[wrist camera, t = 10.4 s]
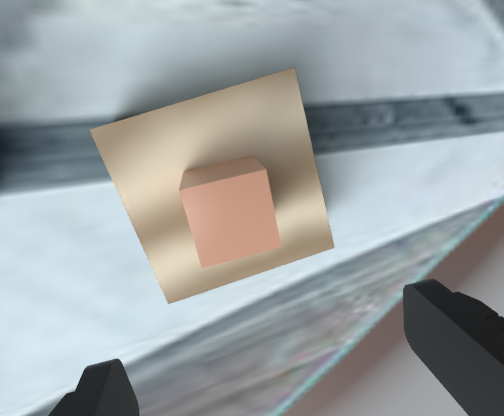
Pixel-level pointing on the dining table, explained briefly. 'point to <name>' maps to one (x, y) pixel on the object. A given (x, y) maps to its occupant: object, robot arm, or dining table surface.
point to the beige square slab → (210, 153)
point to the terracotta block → (230, 210)
